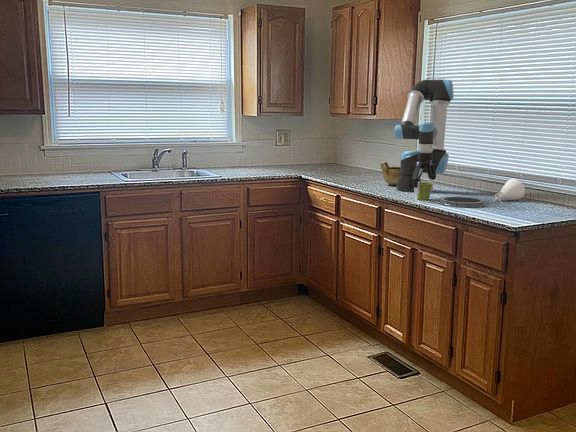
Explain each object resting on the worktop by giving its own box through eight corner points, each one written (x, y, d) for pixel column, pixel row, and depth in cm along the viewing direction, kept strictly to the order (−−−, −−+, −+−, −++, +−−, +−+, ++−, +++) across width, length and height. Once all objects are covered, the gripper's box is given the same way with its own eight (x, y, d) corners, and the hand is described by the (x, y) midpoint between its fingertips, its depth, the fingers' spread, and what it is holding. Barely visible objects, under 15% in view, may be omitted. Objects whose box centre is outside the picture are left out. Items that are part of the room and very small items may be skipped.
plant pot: (410, 199, 313) (411, 183, 311) (418, 197, 320) (419, 181, 318) (427, 201, 307) (428, 184, 305) (435, 199, 314) (435, 183, 313)
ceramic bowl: (388, 187, 357) (389, 163, 354) (373, 184, 372) (374, 160, 369) (418, 186, 366) (419, 162, 363) (402, 182, 381) (403, 159, 378)
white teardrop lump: (496, 184, 302) (515, 174, 313) (482, 196, 311) (501, 186, 322) (510, 202, 299) (529, 192, 310) (495, 214, 308) (514, 203, 319)
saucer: (431, 203, 299) (431, 199, 298) (453, 199, 314) (453, 195, 314) (471, 209, 284) (471, 204, 283) (492, 204, 299) (492, 199, 298)
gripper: (418, 153, 298) (416, 195, 301) (444, 151, 315) (441, 191, 319) (405, 152, 303) (404, 194, 307) (431, 150, 320) (429, 189, 324)
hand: (423, 192), depth 313 cm, fingers open, 13 cm apart
